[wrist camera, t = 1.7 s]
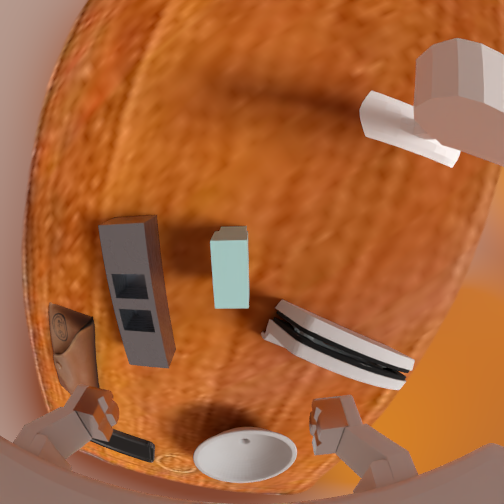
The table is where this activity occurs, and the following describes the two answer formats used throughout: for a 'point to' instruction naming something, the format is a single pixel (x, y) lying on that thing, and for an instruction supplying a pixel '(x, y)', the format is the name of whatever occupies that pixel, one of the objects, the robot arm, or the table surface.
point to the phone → (129, 446)
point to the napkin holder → (337, 347)
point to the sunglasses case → (73, 347)
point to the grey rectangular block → (138, 288)
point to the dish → (245, 455)
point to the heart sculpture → (446, 106)
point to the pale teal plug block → (230, 267)
